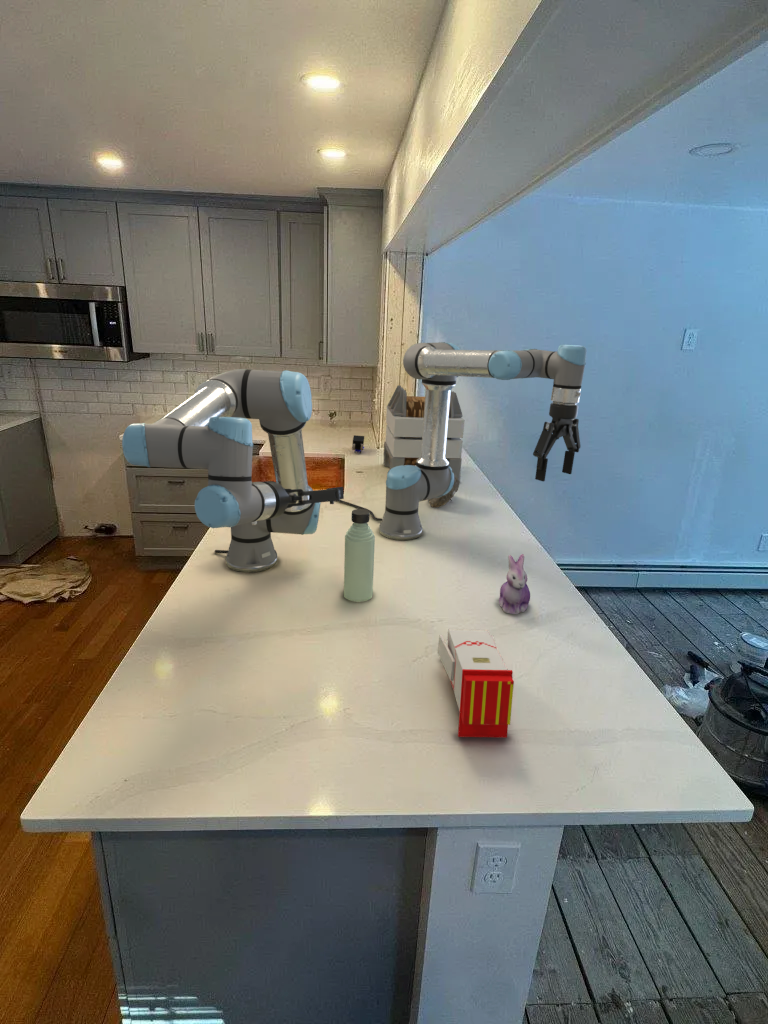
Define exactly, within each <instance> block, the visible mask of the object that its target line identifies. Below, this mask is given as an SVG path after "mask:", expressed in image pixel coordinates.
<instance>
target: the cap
mask: <svg viewBox="0 0 768 1024" xmlns="http://www.w3.org/2000/svg"><path fill="white" fill-rule="evenodd" d="M368 510H369V509H368ZM368 510H365V509H359V508H355V509H353V510H351V522H352V523H358V524H364V523H368V524H369V522H370V518H371V517H370V516H371V514H370V512H369V511H368Z"/></svg>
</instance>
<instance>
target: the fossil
mask: <svg viewBox="0 0 768 1024" xmlns="http://www.w3.org/2000/svg"><path fill="white" fill-rule="evenodd" d="M459 488H460V482H459V480H458V478H456V477H455V476H454V484H453V487H452V489H451V490H450V491H449V492H448V493H447V494H445V495H443V496H441V497H438V498H432V499H428V504H429V505H430V507H431V508H435V509H436V508H437V509H438V508H441V507H443V506H445V505H447V503H449V502H452V501H453V500H452V499H453V498H454V496H455V494H456V493H457V492H458V490H459Z"/></svg>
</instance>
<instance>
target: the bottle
mask: <svg viewBox="0 0 768 1024" xmlns="http://www.w3.org/2000/svg"><path fill="white" fill-rule="evenodd" d="M375 538H376V536H375V533H374V531H373V529H372V528H371V526H370V525H369V522H368V523H364V524H358V523H354V522H352V524H351V525H350V527H349V528H348V530H346V532H345V535H344V563H343V564H344V565H343V566H344V568H343V571H344V572H343V597H344V598H345V599H346V600H348V601H350V602H355V603H356V602H357V603H363V602H367V601H369V600H371V599H373V598H372V597H373V596H374V595H373V593H374V592H373V591H374V569H375V568H374V567H375V566H374V565H375V541H376V539H375Z"/></svg>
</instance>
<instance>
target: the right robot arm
mask: <svg viewBox="0 0 768 1024" xmlns="http://www.w3.org/2000/svg"><path fill="white" fill-rule="evenodd" d="M586 361H587V348H586V346H584V345H577V344H576V345H575V344H560V345H559V346H558V348H557V351H556V350H555V351H552V350H544V349H538V348H525V349H521V350H519V349H518V350H516V349H515V350H512V349H508V350H507V349H503V350H502V349H501V350H499V349H498V350H496V349H491V350H489V349H461V348H460V347H459V346H458V345H457V344H455V343H451V342H445V341H444V342H442V341H441V342H440V341H439V342H438V341H437V342H417V343H415V344H412V345H411V346H410V347H408V348H407V350H406V351H405V353H404V355H403V359H402V364H403V369H404V370H405V372H406V374H407V375H408V376H410V377H411V378H412V379H416V380H421V385H423V387H424V388H425V393H424V397H425V406H424V421H423V435H422V450H421V457H420V458H418V459H417V461H416V466H413V465H401V466H396V467H394V468H392V469H390V468H389V470H388V472H387V474H386V479H385V504H384V505H385V507H384V508H385V509H384V513H383V515H382V517H381V518H380V517H376V516H375V514H374V512H373V511H372V510H370V509H369V508H366V507H363V506H360V505H357V504H355V503H351V502H349V501H345V500H343V499H340V500H339V501H337V502H338V503H341V504H344V505H347V506H350V507H354V508H355V509H365V510H368V511H369V512H370V513H369V514H370V516H371V517H372V519H373V520H374V521H378V522H379V525H378V533H379V534H380V535H381V536H382V537H385V538H387V539H389V540H395V541H410V540H415V539H418V538H420V537H421V536H422V535H423V525H422V524H421V518H420V515H419V507H420V506H419V505H420V502H423V501H427V500H428V499H432V498H438V497H441V496H443V495H445V494H447V493H448V492H449V491H450V490H451V489H452V487H453V484H454V473H452V469H451V467H450V466H449V462H448V461H447V459H446V458H445V454H446V442H447V430H448V418H449V406H450V394H451V391H452V389H453V388H455V386H456V385H457V378H458V377H467V378H468V377H470V378H483V379H485V378H486V379H487V378H488V379H495V380H501V381H509V380H517V379H532V378H533V379H534V378H540V379H548V380H553V382H552V383H553V384H552V389H551V396H550V401H551V403H550V404H549V412H548V415H549V417H550V418H551V422H550V421H544V423H543V428H542V431H541V433H540V435H539V438H538V439H537V440H538V441H537V442H536V445H535V448H534V450H533V453H532V455H533V456H534V457H535V458H537V461H536V470H535V478H534V480H536V481H540V482H545V481H546V476H547V468H548V463H549V461H548V460H549V458H547V457H548V455H549V454H550V452H551V450H552V448H553V446H554V444H555V443H556V442H557V440H559V439H560V438H562V439H563V442H564V444H565V447H566V450H565V451H564V456H563V463H562V468H561V469H562V470H561V471H562V472H561V473H564V474H568V475H572V472H573V466H574V461H575V460H574V459H575V454H576V453H579V452H580V449H581V438H580V430H579V424H580V420H579V418H578V412H579V403H580V397H581V396H582V394H581V393H582V392H581V391H582V384H583V379H584V372H585V369H586V364H587V362H586ZM428 501H429V500H428Z"/></svg>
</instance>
